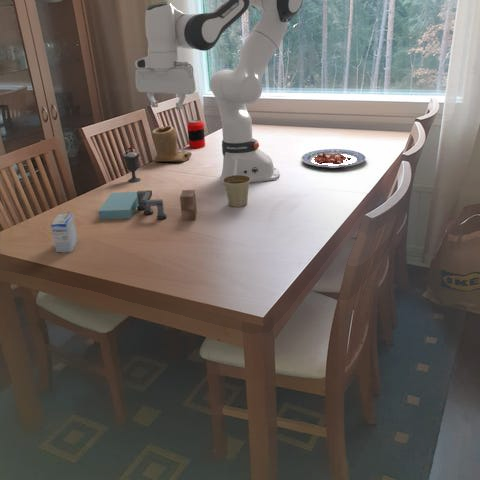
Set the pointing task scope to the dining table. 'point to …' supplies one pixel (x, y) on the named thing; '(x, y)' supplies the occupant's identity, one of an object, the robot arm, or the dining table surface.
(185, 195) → the walnut block
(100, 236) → the dining table surface
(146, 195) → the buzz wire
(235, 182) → the flower pot
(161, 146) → the tan hollow bent piece
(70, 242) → the medicine box
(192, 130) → the soda can
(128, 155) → the sundae
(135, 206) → the platform
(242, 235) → the dining table surface
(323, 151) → the ceramic plate
